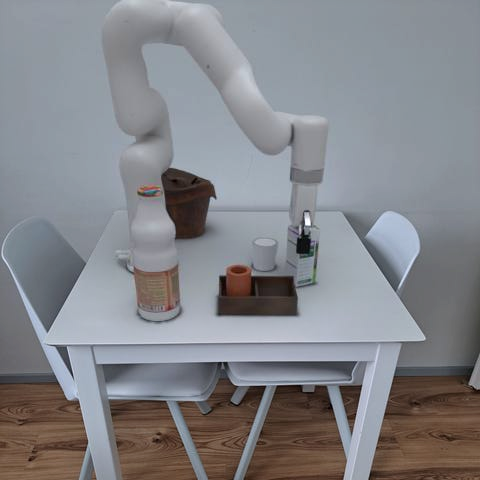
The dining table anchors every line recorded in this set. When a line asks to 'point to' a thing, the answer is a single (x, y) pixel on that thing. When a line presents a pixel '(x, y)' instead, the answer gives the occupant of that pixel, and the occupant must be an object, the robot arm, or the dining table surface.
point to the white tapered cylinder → (264, 253)
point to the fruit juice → (155, 257)
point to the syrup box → (301, 257)
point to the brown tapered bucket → (187, 201)
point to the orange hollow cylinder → (238, 280)
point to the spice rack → (261, 297)
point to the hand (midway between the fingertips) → (300, 245)
